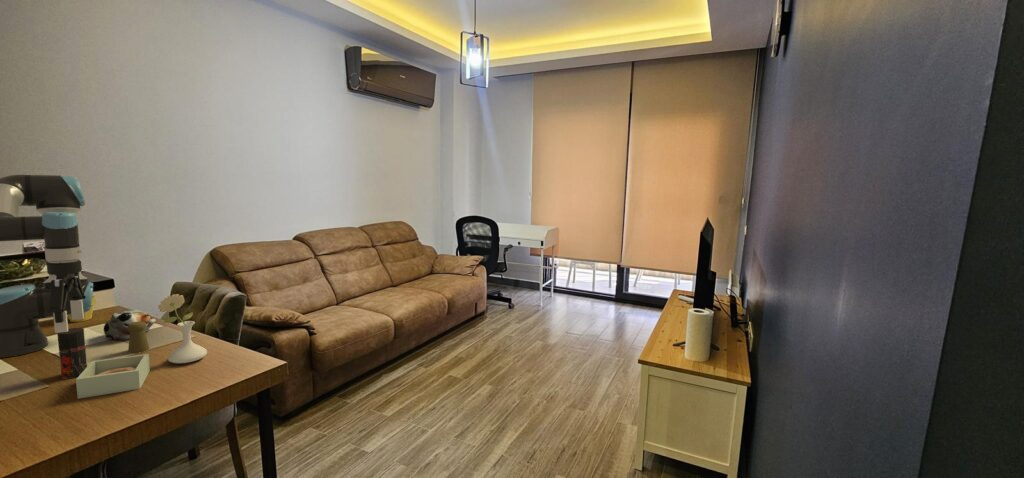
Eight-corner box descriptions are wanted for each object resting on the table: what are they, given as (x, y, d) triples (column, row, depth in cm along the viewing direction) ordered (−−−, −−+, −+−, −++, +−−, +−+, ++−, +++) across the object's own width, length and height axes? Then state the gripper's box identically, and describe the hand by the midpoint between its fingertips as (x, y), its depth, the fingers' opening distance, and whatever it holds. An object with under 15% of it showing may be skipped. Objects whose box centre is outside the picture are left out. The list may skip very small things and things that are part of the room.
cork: (153, 347, 160) (151, 320, 159) (138, 354, 154) (136, 325, 153) (139, 346, 161) (137, 319, 159) (123, 352, 155) (121, 324, 153)
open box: (93, 378, 135) (92, 361, 134) (149, 370, 142) (148, 353, 142) (77, 398, 123) (75, 379, 123) (139, 388, 130) (138, 370, 130)
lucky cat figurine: (152, 327, 180) (161, 301, 177) (147, 346, 172) (157, 320, 168) (105, 323, 171) (113, 296, 167) (98, 343, 162) (107, 316, 158)
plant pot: (56, 322, 181) (54, 300, 179) (84, 315, 191) (82, 294, 189) (76, 324, 179) (74, 302, 178) (103, 317, 189) (101, 296, 188)
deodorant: (91, 372, 139) (88, 329, 137) (68, 380, 133) (63, 335, 131) (81, 369, 141) (77, 326, 139) (57, 376, 135) (52, 332, 133)
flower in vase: (204, 350, 160) (201, 287, 156) (210, 360, 152) (206, 294, 148) (160, 359, 151) (155, 292, 147) (163, 370, 143) (159, 300, 139)
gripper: (65, 267, 123) (71, 336, 126) (93, 253, 145) (98, 312, 147) (28, 269, 120) (35, 340, 122) (63, 254, 141) (68, 315, 143)
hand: (70, 325), depth 135 cm, fingers open, 13 cm apart
